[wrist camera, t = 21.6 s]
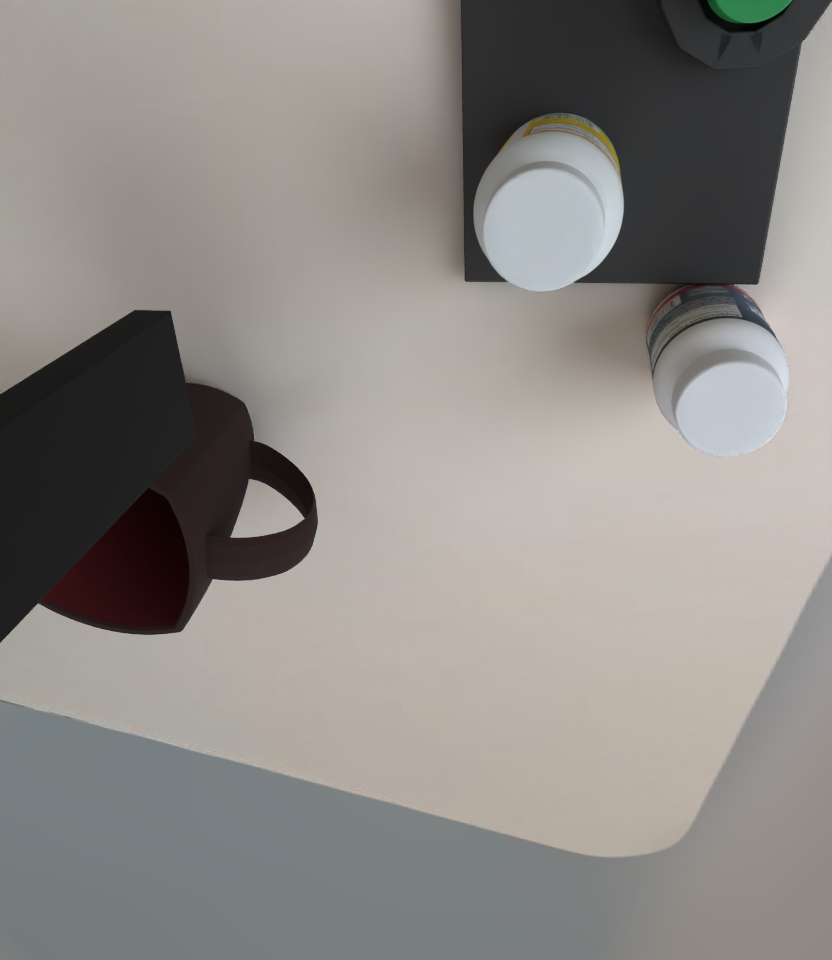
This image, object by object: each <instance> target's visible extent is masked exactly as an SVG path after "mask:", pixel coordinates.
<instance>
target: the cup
mask: <svg viewBox="0 0 832 960" xmlns="http://www.w3.org/2000/svg"><path fill="white" fill-rule="evenodd" d="M186 387H187V392H188V396H189V401H190V406H191V411H192V415H193V420H194V425H195V430H196V434H197V437H196V438H195V439H194V440H193V441H192V443H191V444H190V445H189V446H188V447H187V448H186V449H185V450H184V451H183V452H182V453H181V454H180V455H179V456H178V457H177V458H176V459H175V460H174V461H173V462H172V463H171V465H170V466H169V467H168V468H167V469H166V470H165V471H164V472H163V473H162V474H161V475H160V476H159V477H158V478H157V479H156V480H155V481H154V482H153V483H152V484H151V485H150V486H149V488H148V489H147V490H146V491H145V492H144V493H143V494H142V495H141V496H140V497H139V498H138V499H137V500H136V501H135V502H134V503H133V504H132V505H131V506H130V507H129V508H128V510H127V511H126V512H125V513H124V514H123V515H122V516H121V517H120V518H119V519H118V520H117V521H116V522H115V523H114V524H113V525H112V526H111V527H110V528H109V529H108V530H107V531H106V533H105V534H104V535H103V536H102V537H101V538H100V539H99V540H98V541H97V542H96V543H95V544H94V545H93V546H92V547H91V548H90V549H89V550H88V551H87V552H86V553H85V555H84V556H83V557H82V558H81V559H80V560H79V561H78V562H77V563H76V564H75V565H74V566H73V567H72V568H71V569H70V570H69V571H68V572H67V573H66V574H65V575H64V576H63V578H62V579H61V580H60V581H59V582H58V583H57V584H56V585H55V586H54V587H53V588H52V589H51V590H50V591H49V592H48V593H47V594H46V595H45V596H44V597H43V598H42V600H41V601H40V602H39V604H41V605H42V606H44V607H46V608H48V609H50V610H52V611H54V612H56V613H58V614H60V615H63V616H65V617H68V618H70V619H73V620H75V621H78V622H81V623H84V624H87V625H90V626H93V627H97V628H101V629H105V630H110V631H115V632H121V633H129V634H142V635H154V634H168V633H177V632H181V631H182V630H183V629H184V627H185V626H186V624H187V623H188V621H189V620H190V618H191V616H192V615H193V613H194V611H195V610H196V608H197V606H198V605H199V603H200V601H201V599H202V598H203V596H204V594H205V592H206V591H207V589H208V587H209V585H210V583H211V581H212V579H218V580H233V581H241V580H254V579H261V578H266V577H270V576H274V575H278V574H281V573H283V572H286V571H288V570H290V569H291V568H293V567H294V566H296V565H297V564H298V563H300V562H301V561H302V560H303V559H304V558H305V557H306V555H307V554H308V552H309V551H310V549H311V547H312V545H313V542H314V538H315V534H316V530H317V524H318V517H317V508H316V499H315V495H314V492H313V489H312V487H311V485H310V483H309V481H308V480H307V478H306V477H305V476H304V474H303V473H302V472H301V471H300V470H299V469H298V468H297V467H296V466H295V465H294V464H293V463H292V462H291V461H289V460H288V459H287V458H286V457H284V456H283V455H282V454H280V453H279V452H277V451H276V450H274V449H272V448H271V447H269V446H267V445H265V444H262V443H259V442H255V441H254V434H253V427H252V422H251V419H250V416H249V413H248V410H247V408H246V405H245V403H244V402H242V401H240V400H239V399H237V398H235V397H234V396H232V395H230V394H228V393H226V392H223V391H221V390H219V389H216V388H212V387H209V386H205V385H200V384H191V383H186ZM249 479H253V480H258V481H260V482H263V483H265V484H267V485H269V486H270V487H272V488H274V489H275V490H277V491H278V492H279V493H281V494H282V495H283V496H284V497H286V498H287V499H288V500H289V501H290V502H291V503H292V504H293V505H294V506H295V507H296V508H297V509H298V510H299V511H300V513H301V514H302V515H303V517H304V518H305V519H304V520H302V521H301V522H300V523H298V524H297V525H296V526H294V527H292V528H290V529H288V530H285V531H282V532H279V533H275V534H270V535H265V536H259V537H250V538H230V537H231V534H232V531H233V529H234V526H235V523H236V521H237V518H238V515H239V512H240V509H241V506H242V503H243V499H244V496H245V493H246V489H247V486H248V481H249Z"/></svg>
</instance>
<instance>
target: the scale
mask: <svg viewBox="0 0 832 960" xmlns="http://www.w3.org/2000/svg"><path fill="white" fill-rule="evenodd" d="M831 1H832V0H792V1H791V2H790V3H789V5H788V6H787V7H785V8H784V9H783V10H782V11H781V12H779V13H778V14H777V15H775V16H773V17H771V18H769V19H767V20H764V21H761V22H757V23H733V22H729V21H726V20H724V19H722V18H720V17H719V16H718V15H716V13H715V12H714V11H713V10H712V9H711V7H710V6H709V4H708V2H707V0H461V39H462V113H463V186H464V260H465V281H466V282H508V281H506V280H505V279H504V278H503V277H501V276H500V275H499V274H498V273H497V271H496V270H495V269H494V268H493V266H492V265H491V263H490V261H489V259H488V258H487V257H486V255H485V254H484V252H483V250H482V248H481V246H480V244H479V241H478V239H477V235H476V232H475V226H474V215H473V213H474V201H475V196H476V192H477V188H478V186H479V183H480V181H481V178H482V176H483V174H484V173H485V171H486V169H487V168H488V166H489V164H490V163H491V162H492V161H493V159H494V158H495V157H496V155H497V154H498V153H499V151H500V150H501V148H502V147H503V146H504V144H505V143H506V142H507V140H508V139H509V138H510V137H511V136H512V135H513V133H514V132H515V131H516V130H518V129H519V128H520V127H521V126H523V125H524V124H525V123H527V122H529V121H531V120H532V119H535V118H537V117H540V116H543V115H547V114H552V113H567V114H573V115H577V116H580V117H583V118H585V119H587V120H589V121H591V122H592V123H594V124H595V125H596V126H597V127H599V128H600V129H601V130H602V131H603V132H604V133H605V135H606V136H607V137H608V139H609V140H610V141H611V143H612V145H613V147H614V149H615V152H616V155H617V158H618V161H619V166H620V176H621V182H622V189H623V198H624V212H623V219H622V224H621V228H620V231H619V234H618V237H617V239H616V241H615V243H614V245H613V247H612V249H611V250H610V252H609V253H608V254H607V256H606V257H605V259H604V260H603V261H602V262H601V263H600V264H599V265H598V266H597V267H596V268H595V269H594V270H592V271H591V272H590V273H588V274H587V275H585V276H583V277H581V278H580V279H578V280H576V281H574V282H573V283H658V284H758V283H759V278H760V272H761V267H762V261H763V256H764V250H765V244H766V239H767V233H768V228H769V222H770V217H771V211H772V205H773V200H774V194H775V189H776V183H777V177H778V172H779V166H780V161H781V155H782V150H783V144H784V138H785V133H786V127H787V122H788V116H789V110H790V105H791V99H792V94H793V88H794V82H795V77H796V71H797V66H798V60H799V55H800V49H801V43H802V41H803V40H805V38H806V37H807V36H808V34H809V33H810V31H811V30H812V29H813V27H814V26H815V24H816V23H817V21H818V20H819V19H820V17H821V16H822V14H823V13H824V11H825V10H826V9H827V7H828V6H829V4H830V3H831Z"/></svg>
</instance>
